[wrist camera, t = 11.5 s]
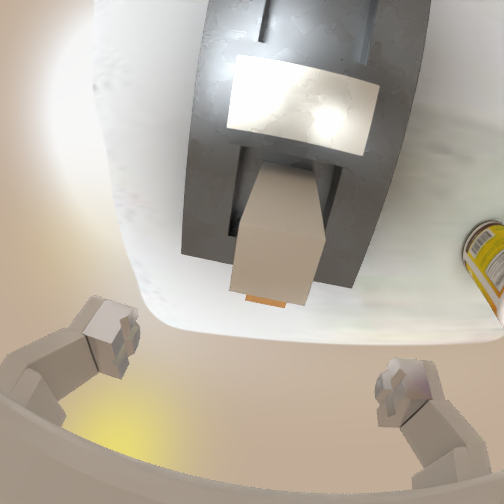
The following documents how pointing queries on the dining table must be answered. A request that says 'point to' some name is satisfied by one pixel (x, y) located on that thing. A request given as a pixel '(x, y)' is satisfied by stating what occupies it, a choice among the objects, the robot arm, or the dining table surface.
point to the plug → (279, 237)
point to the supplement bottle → (487, 263)
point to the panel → (301, 115)
